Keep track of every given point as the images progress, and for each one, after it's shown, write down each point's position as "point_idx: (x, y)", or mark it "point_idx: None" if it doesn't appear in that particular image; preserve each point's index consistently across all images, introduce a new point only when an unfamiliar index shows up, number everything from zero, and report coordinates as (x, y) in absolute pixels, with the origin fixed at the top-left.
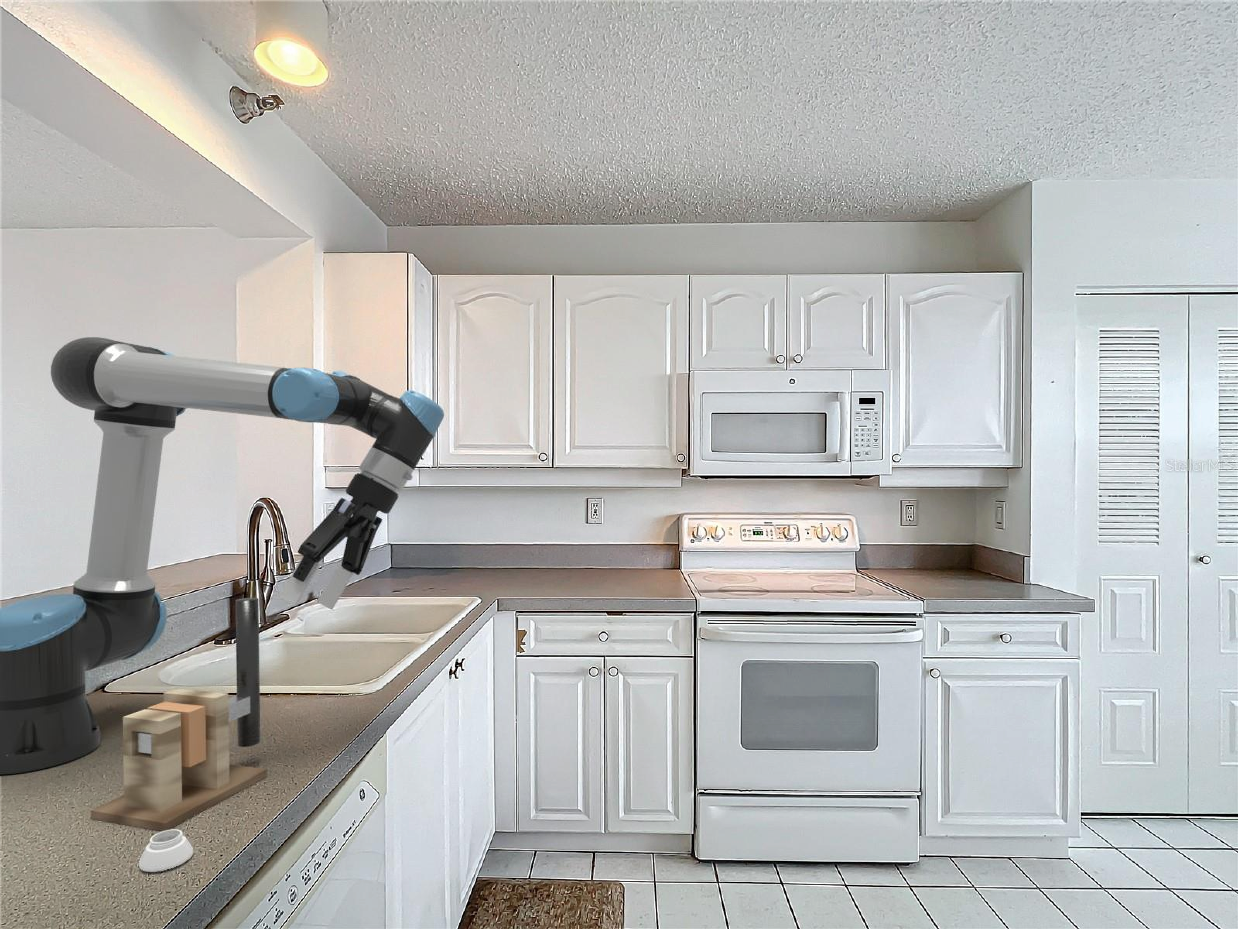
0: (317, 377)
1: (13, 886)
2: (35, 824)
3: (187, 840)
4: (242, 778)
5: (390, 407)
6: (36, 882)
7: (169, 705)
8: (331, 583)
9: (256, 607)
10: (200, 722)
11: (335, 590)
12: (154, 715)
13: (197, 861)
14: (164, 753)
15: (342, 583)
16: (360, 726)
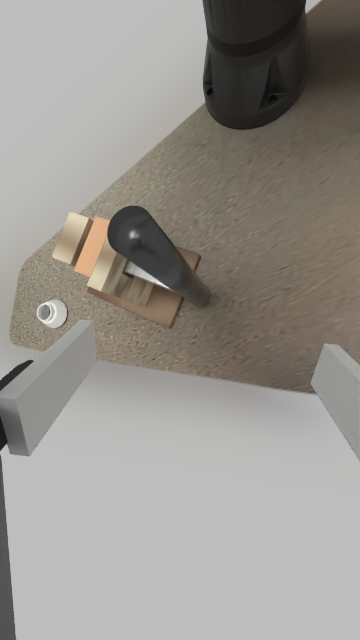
0: None
1: (46, 243)
2: (115, 196)
3: (53, 322)
4: (152, 313)
5: None
6: (48, 252)
7: (99, 235)
8: (356, 397)
9: (132, 260)
10: None
11: (341, 407)
12: (68, 241)
13: (53, 333)
14: None
15: (356, 439)
16: (306, 388)
